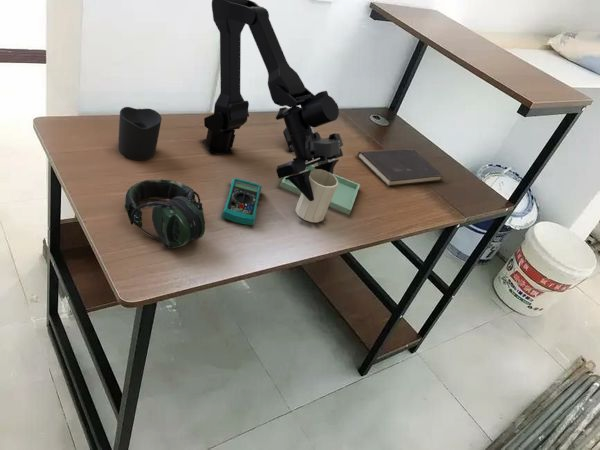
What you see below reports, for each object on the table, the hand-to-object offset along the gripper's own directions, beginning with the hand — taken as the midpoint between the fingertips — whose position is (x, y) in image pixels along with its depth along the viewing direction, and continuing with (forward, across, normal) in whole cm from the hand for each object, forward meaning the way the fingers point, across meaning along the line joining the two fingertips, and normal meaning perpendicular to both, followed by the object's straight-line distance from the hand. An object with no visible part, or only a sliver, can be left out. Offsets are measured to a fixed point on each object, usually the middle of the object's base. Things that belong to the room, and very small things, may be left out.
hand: (321, 196), depth 122 cm
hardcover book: (+4, +48, +7) cm, 48 cm away
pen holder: (-24, -21, +35) cm, 47 cm away
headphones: (-6, -32, +16) cm, 37 cm away
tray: (0, +13, +10) cm, 16 cm away
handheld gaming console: (-13, +24, +24) cm, 36 cm away
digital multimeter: (-4, -12, +14) cm, 19 cm away
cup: (+3, 0, +5) cm, 6 cm away
